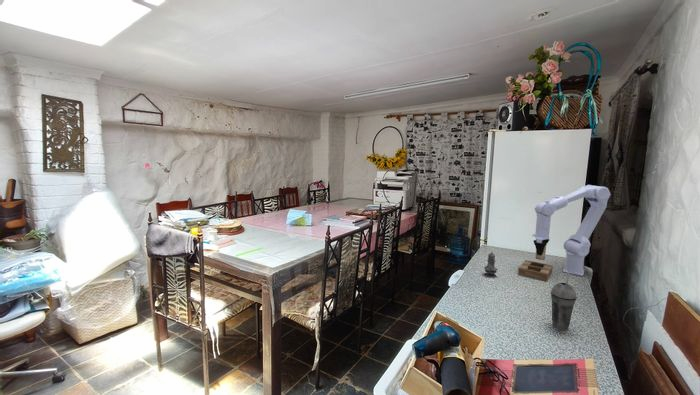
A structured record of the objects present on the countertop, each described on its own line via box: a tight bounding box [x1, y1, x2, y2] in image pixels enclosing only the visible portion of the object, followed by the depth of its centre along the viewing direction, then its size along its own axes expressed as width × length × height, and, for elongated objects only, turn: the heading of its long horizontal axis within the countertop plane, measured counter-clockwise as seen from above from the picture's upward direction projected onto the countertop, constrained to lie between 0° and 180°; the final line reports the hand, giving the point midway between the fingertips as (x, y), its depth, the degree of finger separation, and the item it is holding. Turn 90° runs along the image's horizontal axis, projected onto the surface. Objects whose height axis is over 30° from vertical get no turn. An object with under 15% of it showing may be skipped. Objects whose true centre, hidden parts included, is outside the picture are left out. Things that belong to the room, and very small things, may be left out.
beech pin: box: [535, 245, 547, 261], centre depth 150 cm, size 4×4×8 cm
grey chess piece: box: [483, 251, 498, 278], centre depth 147 cm, size 6×6×12 cm
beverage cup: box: [550, 271, 577, 332], centre depth 102 cm, size 7×7×20 cm
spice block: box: [517, 259, 554, 282], centre depth 150 cm, size 15×12×4 cm
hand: (540, 253), depth 150 cm, fingers closed on beech pin, 4 cm apart
